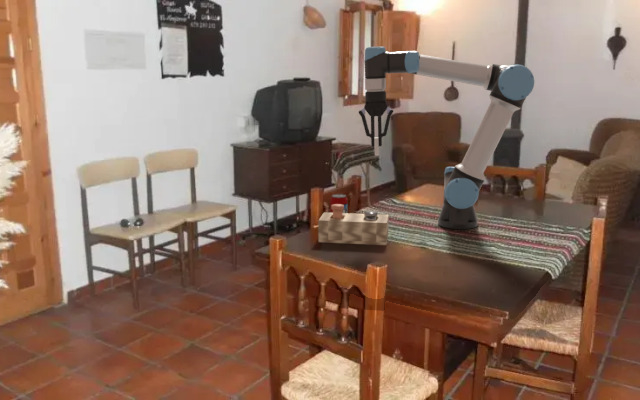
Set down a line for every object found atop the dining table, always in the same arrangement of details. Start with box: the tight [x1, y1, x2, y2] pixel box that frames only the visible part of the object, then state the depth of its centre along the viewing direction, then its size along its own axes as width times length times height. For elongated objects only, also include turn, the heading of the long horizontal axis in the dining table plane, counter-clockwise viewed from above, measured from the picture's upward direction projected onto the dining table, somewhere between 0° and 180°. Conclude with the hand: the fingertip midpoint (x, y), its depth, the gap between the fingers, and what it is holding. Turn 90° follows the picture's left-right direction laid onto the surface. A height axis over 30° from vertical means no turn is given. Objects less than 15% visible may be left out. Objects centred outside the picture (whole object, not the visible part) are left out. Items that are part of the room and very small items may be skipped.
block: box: [317, 211, 390, 246], centre depth 218 cm, size 24×12×8 cm, turn 80°
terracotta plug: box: [331, 204, 344, 219], centre depth 218 cm, size 5×5×8 cm
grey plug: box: [363, 210, 378, 220], centre depth 217 cm, size 5×5×8 cm
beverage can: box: [329, 193, 349, 213], centre depth 236 cm, size 7×7×12 cm
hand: (376, 155), depth 224 cm, fingers closed
